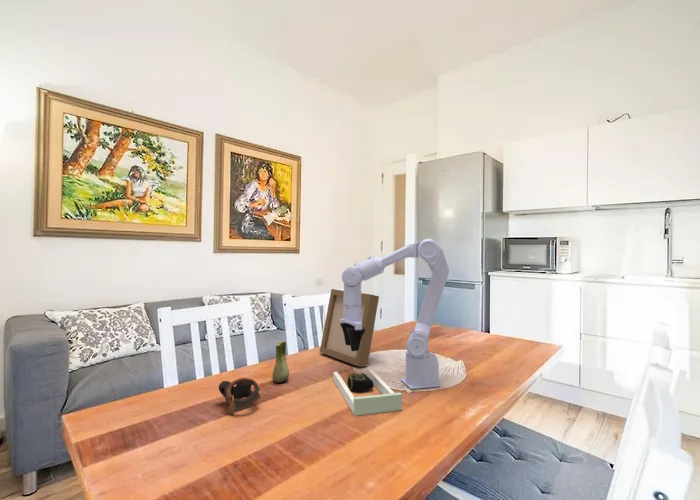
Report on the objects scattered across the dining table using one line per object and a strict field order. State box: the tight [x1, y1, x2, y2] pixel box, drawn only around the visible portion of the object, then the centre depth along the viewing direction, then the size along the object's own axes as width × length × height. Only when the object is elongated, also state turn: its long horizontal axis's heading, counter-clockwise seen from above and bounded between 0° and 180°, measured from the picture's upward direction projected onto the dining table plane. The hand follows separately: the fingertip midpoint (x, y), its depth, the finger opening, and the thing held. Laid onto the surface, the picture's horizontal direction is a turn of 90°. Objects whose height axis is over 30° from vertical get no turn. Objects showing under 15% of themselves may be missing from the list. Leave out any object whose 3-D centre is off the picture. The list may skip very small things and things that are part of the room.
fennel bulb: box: [271, 340, 290, 384], centre depth 109 cm, size 6×5×12 cm
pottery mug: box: [218, 377, 261, 415], centre depth 91 cm, size 12×10×8 cm
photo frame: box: [319, 288, 380, 367], centre depth 133 cm, size 15×22×25 cm
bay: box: [332, 368, 403, 417], centre depth 100 cm, size 12×24×4 cm, turn 15°
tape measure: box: [346, 372, 374, 392], centre depth 103 cm, size 7×7×4 cm
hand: (351, 347), depth 112 cm, fingers open, 6 cm apart
